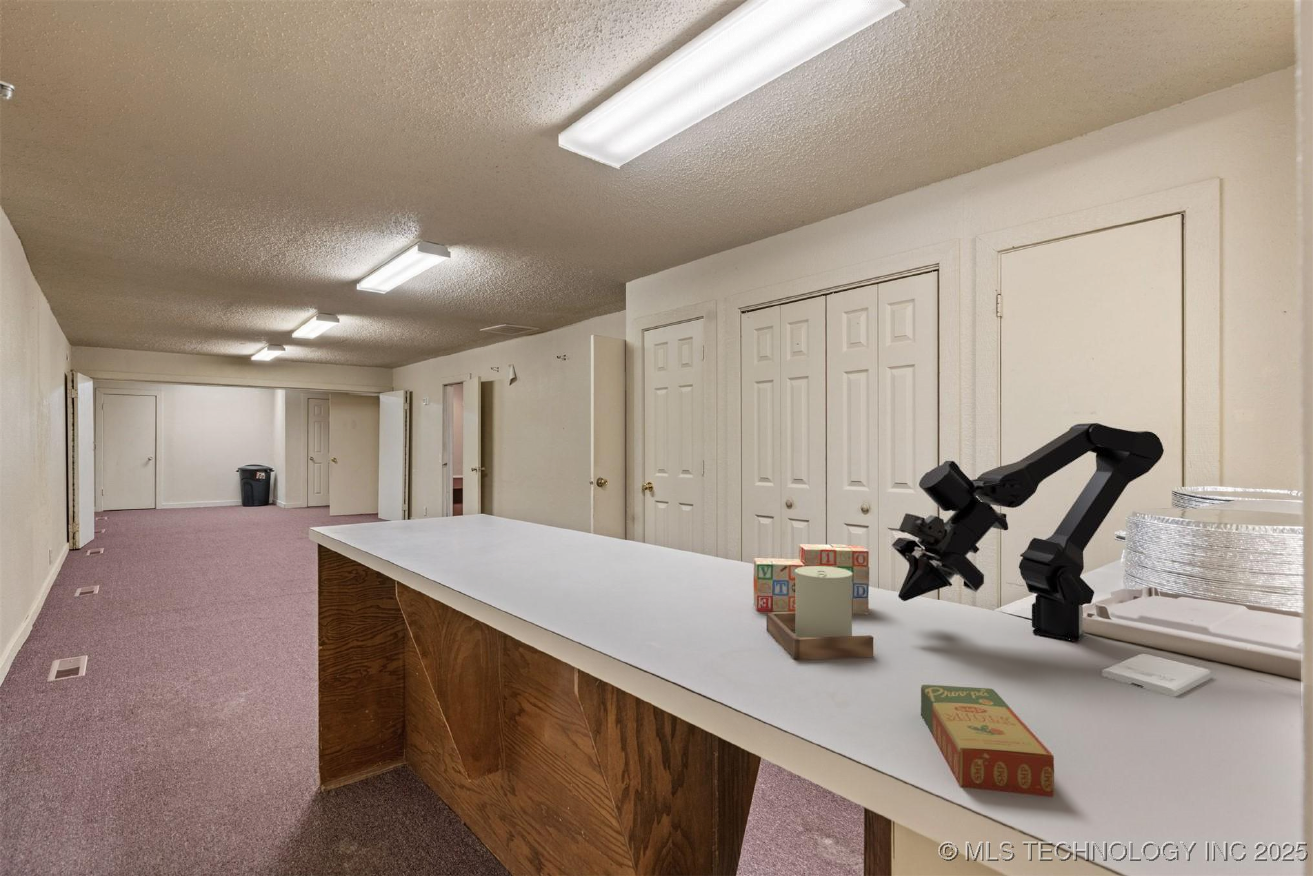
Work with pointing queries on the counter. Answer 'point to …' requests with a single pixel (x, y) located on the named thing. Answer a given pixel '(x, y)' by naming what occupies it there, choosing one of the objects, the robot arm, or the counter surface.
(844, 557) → the stack of blocks
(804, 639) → the walnut bay
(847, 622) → the can
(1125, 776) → the counter surface
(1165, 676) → the external hard drive
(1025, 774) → the carton
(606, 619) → the counter surface
